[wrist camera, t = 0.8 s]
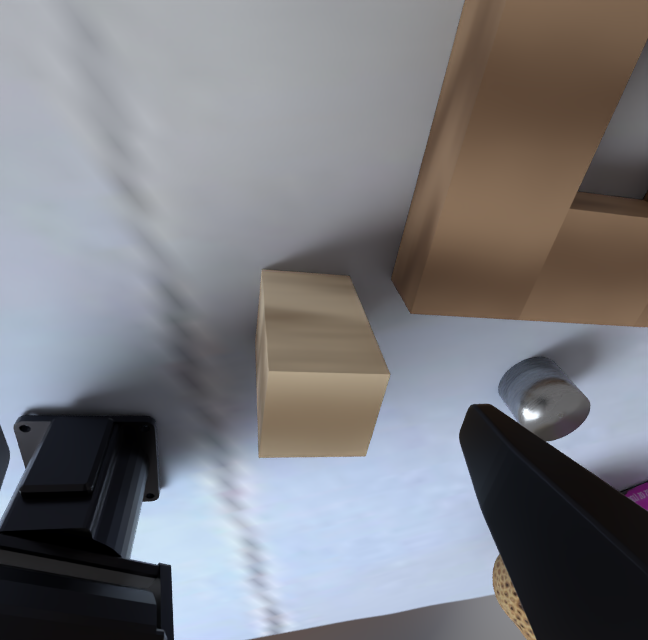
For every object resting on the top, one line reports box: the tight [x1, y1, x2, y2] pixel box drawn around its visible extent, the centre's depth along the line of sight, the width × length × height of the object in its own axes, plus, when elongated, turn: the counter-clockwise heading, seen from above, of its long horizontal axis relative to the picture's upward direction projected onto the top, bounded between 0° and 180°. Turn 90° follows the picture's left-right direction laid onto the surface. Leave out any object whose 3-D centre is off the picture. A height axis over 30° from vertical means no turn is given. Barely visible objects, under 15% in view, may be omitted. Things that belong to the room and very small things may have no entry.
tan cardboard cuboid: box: [255, 269, 390, 458], centre depth 18 cm, size 4×4×7 cm
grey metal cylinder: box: [498, 357, 590, 441], centre depth 25 cm, size 4×4×3 cm
